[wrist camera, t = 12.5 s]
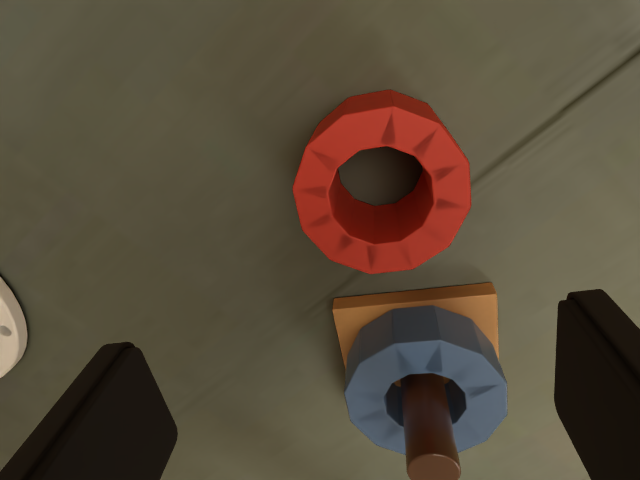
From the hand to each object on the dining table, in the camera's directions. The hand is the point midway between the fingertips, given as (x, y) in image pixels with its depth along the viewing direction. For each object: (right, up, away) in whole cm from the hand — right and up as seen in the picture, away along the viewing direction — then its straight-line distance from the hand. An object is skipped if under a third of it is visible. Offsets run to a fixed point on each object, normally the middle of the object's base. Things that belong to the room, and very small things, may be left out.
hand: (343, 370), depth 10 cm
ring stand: (+6, -4, +17) cm, 18 cm away
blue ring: (+5, -4, +16) cm, 18 cm away
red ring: (+2, +7, +12) cm, 14 cm away
